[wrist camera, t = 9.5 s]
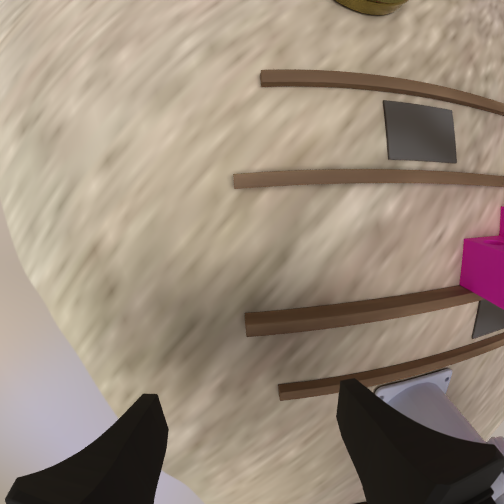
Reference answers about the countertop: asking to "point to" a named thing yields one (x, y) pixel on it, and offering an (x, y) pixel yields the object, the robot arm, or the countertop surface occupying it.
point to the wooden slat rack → (399, 148)
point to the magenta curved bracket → (485, 266)
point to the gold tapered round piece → (373, 6)
